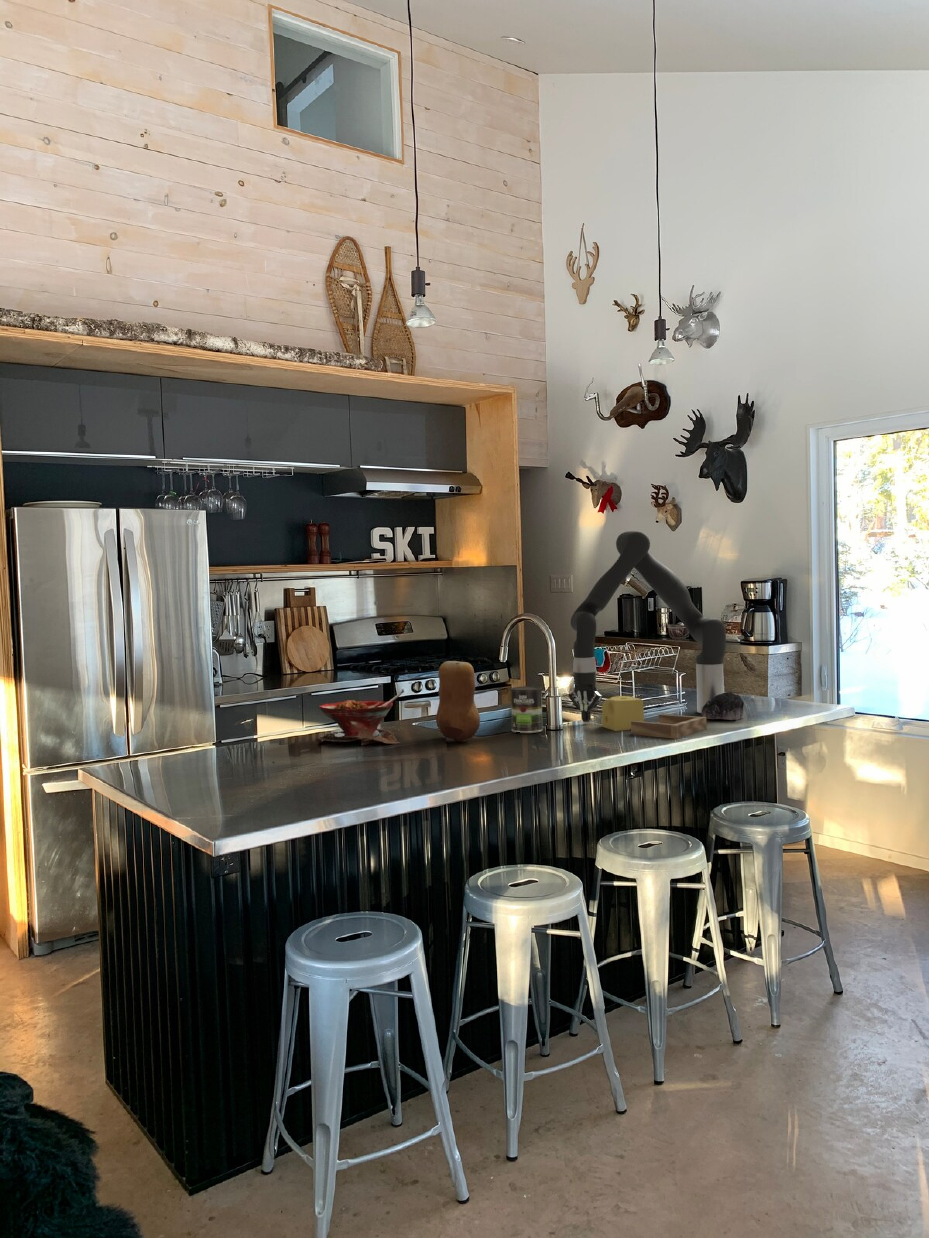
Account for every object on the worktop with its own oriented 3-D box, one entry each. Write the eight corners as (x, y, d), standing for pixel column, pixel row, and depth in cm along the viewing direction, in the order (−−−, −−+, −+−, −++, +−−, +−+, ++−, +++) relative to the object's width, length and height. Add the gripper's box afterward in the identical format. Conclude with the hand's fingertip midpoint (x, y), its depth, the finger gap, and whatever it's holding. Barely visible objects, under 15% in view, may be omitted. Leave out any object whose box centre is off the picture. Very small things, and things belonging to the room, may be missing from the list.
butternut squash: (482, 735, 306) (479, 658, 305) (478, 743, 293) (476, 662, 292) (439, 736, 308) (436, 659, 306) (434, 744, 294) (431, 663, 293)
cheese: (601, 727, 316) (600, 697, 316) (630, 724, 319) (629, 694, 319) (615, 731, 306) (614, 700, 306) (645, 729, 309) (644, 698, 309)
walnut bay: (661, 725, 314) (661, 713, 314) (706, 729, 303) (706, 717, 303) (631, 734, 300) (630, 721, 299) (677, 738, 289) (676, 725, 289)
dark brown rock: (694, 719, 325) (693, 690, 325) (728, 716, 329) (728, 688, 329) (716, 725, 312) (716, 694, 312) (752, 721, 317) (751, 692, 316)
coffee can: (539, 733, 307) (538, 689, 307) (508, 733, 310) (506, 689, 310) (546, 728, 317) (544, 686, 316) (515, 727, 320) (514, 686, 319)
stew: (407, 734, 316) (405, 685, 315) (404, 746, 292) (402, 694, 291) (322, 737, 315) (320, 688, 314) (312, 750, 291) (310, 698, 290)
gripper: (607, 670, 320) (608, 721, 321) (574, 668, 329) (576, 718, 329) (594, 672, 314) (596, 724, 315) (562, 670, 323) (563, 721, 324)
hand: (586, 721), depth 322 cm, fingers closed
